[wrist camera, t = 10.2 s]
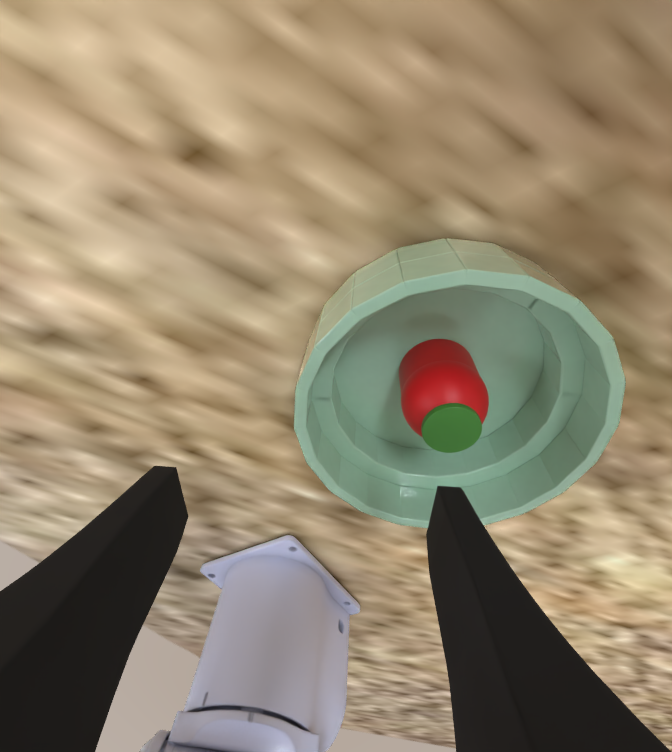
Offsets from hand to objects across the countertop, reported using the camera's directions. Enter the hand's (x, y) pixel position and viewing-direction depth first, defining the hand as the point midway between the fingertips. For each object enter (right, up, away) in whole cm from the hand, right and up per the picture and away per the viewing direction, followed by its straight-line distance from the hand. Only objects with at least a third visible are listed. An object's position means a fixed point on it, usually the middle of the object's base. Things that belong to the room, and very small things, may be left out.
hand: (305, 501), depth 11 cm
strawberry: (+5, +4, +7) cm, 10 cm away
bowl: (+5, +4, +8) cm, 10 cm away
